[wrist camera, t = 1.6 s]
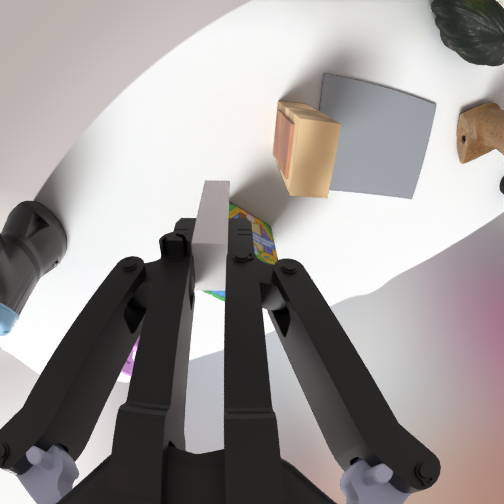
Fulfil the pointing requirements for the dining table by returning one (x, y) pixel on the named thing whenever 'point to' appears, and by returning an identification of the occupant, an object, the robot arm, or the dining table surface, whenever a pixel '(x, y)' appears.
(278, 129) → the oak slab
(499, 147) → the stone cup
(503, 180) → the drinking cup
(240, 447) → the robot arm
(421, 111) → the mat
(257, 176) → the dining table surface
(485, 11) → the squash
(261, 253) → the chalk box
